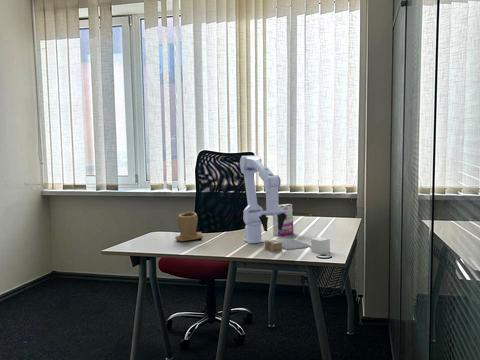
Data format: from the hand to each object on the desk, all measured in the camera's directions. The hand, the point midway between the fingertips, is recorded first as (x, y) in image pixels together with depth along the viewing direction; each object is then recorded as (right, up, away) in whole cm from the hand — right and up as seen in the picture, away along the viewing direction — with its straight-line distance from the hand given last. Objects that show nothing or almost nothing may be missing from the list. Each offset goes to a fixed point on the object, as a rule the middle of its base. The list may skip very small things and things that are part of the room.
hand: (272, 230), depth 213 cm
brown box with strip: (0, -9, +1) cm, 9 cm away
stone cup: (-42, -9, +27) cm, 51 cm away
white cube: (+21, -9, -6) cm, 24 cm away
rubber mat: (+9, -8, +10) cm, 16 cm away
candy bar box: (+8, -7, +38) cm, 39 cm away
